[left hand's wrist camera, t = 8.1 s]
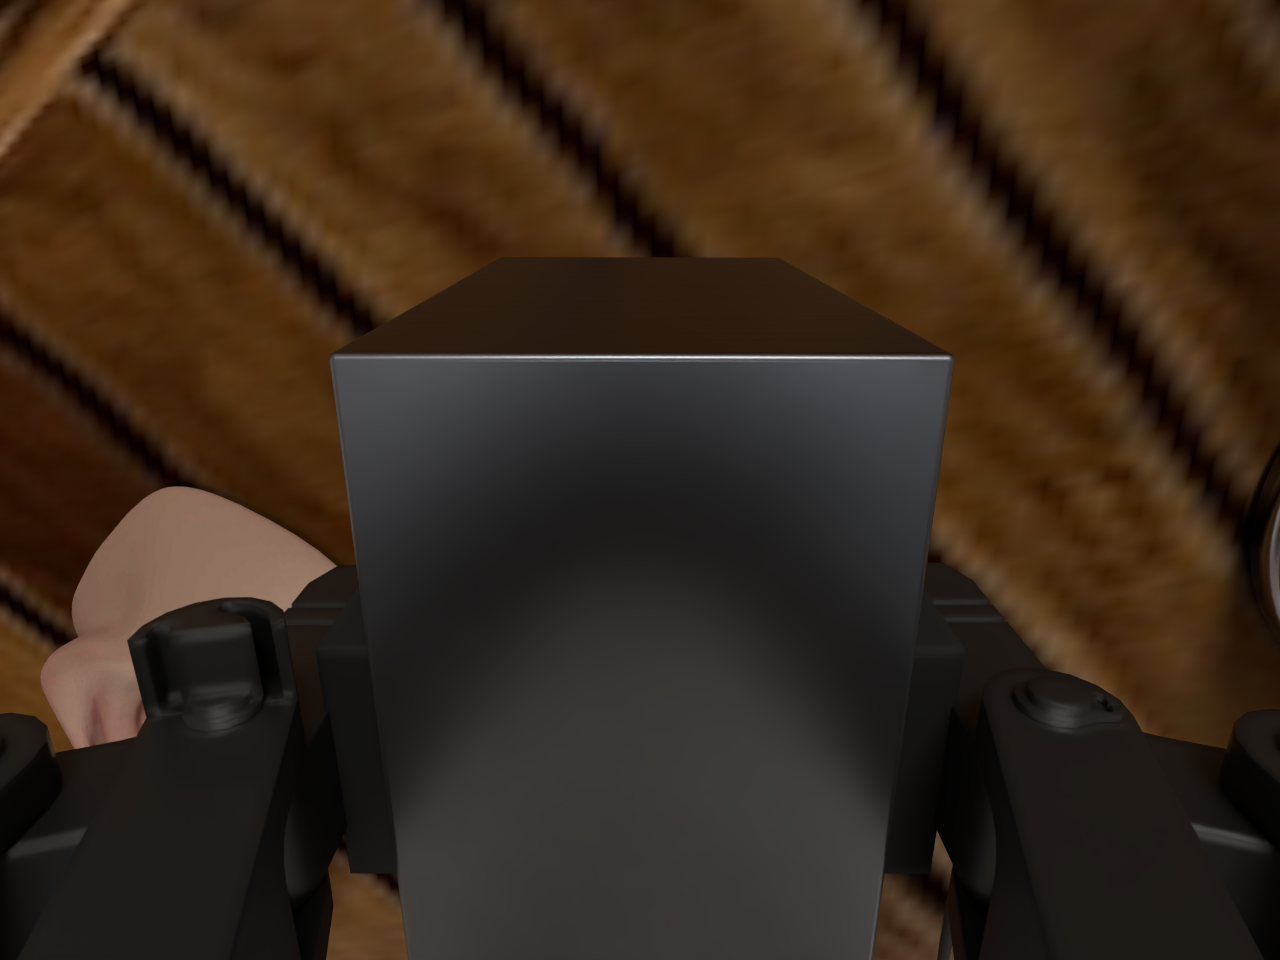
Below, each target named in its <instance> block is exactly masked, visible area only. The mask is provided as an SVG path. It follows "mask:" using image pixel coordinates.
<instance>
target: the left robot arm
mask: <svg viewBox="0 0 1280 960" xmlns="http://www.w3.org/2000/svg"><path fill="white" fill-rule="evenodd" d="M1250 570H1251V579H1252V585H1253V589H1254V593H1255V597H1256V601H1257V603H1258V606H1259V608H1260V611H1261V614H1262V616H1263V618H1264V620H1265V621H1266V623H1267V625H1268V627H1269V629H1270V630H1271V632H1272V633H1273V635H1274V636H1275V637H1276V639H1277V640H1278V641H1279V643H1280V451H1279V453H1278V455H1277V457H1276V459H1275V460H1274V462H1273V464H1272V467H1271V469H1270V471H1269V473H1268V476H1267V478H1266V480H1265V483H1264V485H1263V488H1262V491H1261V494H1260V497H1259V500H1258V503H1257V507H1256V511H1255V516H1254V520H1253V524H1252V532H1251V541H1250ZM127 643H128V647H129V651H130V655H131V659H132V663H133V667H134V671H135V675H136V679H137V683H138V687H139V691H140V695H141V699H142V703H143V707H144V711H145V715H146V719H145V721H144V723H143V725H142V727H141V728H140V730H139V732H138V734H137V736H136V737H132V738H128V739H124V740H120V741H114V742H109V743H104V744H99V745H94V746H88V747H83V748H78V749H73V750H68V751H63V752H57V753H55V751H54V748H53V745H52V741H51V738H50V735H49V731H48V728H47V726H46V725H45V724H44V723H42V722H41V721H40V720H39V719H37V718H36V717H35V716H29V715H23V714H16V713H5V714H0V960H326V955H327V948H328V941H329V933H330V926H331V919H332V912H333V899H332V891H331V885H330V879H329V873H328V867H329V865H330V863H331V861H332V858H333V856H334V854H335V852H336V849H337V847H338V845H339V843H340V841H341V838H342V836H343V834H344V835H345V841H346V847H347V854H348V860H349V866H350V873H397V870H396V862H395V855H394V847H393V839H392V832H391V824H390V817H389V809H388V801H387V794H386V786H385V778H384V771H383V763H382V756H381V748H380V740H379V733H378V725H377V718H376V710H375V702H374V695H373V687H372V679H371V672H370V664H369V657H368V649H367V641H366V634H365V626H364V619H363V611H362V603H361V596H360V588H359V580H358V573H357V565H338V566H336V567H335V568H333V569H331V570H330V571H328V572H326V573H325V574H323V575H321V576H319V577H318V578H316V579H314V580H313V581H311V582H309V583H308V584H307V585H306V587H305V588H304V589H303V590H302V592H301V593H300V594H299V595H298V596H297V598H296V599H295V600H294V601H293V602H292V607H291V608H288V609H287V610H286V611H285V612H284V610H282V609H281V608H280V607H278V606H277V605H276V604H274V603H273V602H272V601H267V600H262V599H258V598H253V597H225V598H219V599H213V600H208V601H202V602H197V603H193V604H190V605H187V606H184V607H181V608H178V609H175V610H172V611H169V612H166V613H164V614H163V615H161V616H159V617H157V618H155V619H153V620H152V621H150V622H148V623H146V624H144V625H142V626H141V627H140V628H139V629H138V630H137V631H136V632H135V633H134V634H133V635H132V636H131V637H130V638H129V639H128V640H127ZM937 831H938V833H939V835H940V837H941V840H942V842H943V844H944V846H945V848H946V851H947V853H948V855H949V857H950V859H951V862H952V864H953V867H952V873H951V879H950V885H949V890H948V896H947V902H946V908H945V914H944V920H943V925H942V931H941V937H940V943H939V951H938V959H937V960H949V959H950V953H951V948H952V946H953V953H954V960H1280V710H1275V709H1267V710H1260V711H1253V712H1247V713H1246V714H1245V715H1243V716H1242V717H1241V718H1240V719H1238V720H1237V721H1236V722H1235V724H1234V727H1233V730H1232V734H1231V737H1230V740H1229V744H1228V747H1227V749H1222V748H1217V747H1212V746H1207V745H1202V744H1196V743H1191V742H1186V741H1181V740H1176V739H1170V738H1165V737H1160V736H1156V735H1152V734H1148V733H1144V732H1142V731H1141V729H1140V727H1139V725H1138V723H1137V721H1136V720H1135V718H1134V716H1133V715H1132V714H1131V713H1130V711H1129V710H1128V709H1127V708H1126V707H1125V706H1124V705H1123V703H1122V702H1121V701H1120V700H1119V699H1117V698H1116V697H1114V696H1113V695H1111V694H1110V693H1108V692H1106V691H1105V690H1103V689H1102V688H1100V687H1099V686H1097V685H1095V684H1092V683H1090V682H1087V681H1085V680H1082V679H1080V678H1077V677H1075V676H1072V675H1070V674H1065V673H1060V672H1056V671H1051V670H1046V668H1045V667H1044V666H1043V665H1042V663H1041V662H1040V661H1039V660H1038V659H1037V657H1036V656H1035V655H1034V654H1033V653H1032V651H1031V650H1030V649H1029V648H1028V647H1027V645H1026V644H1025V643H1024V642H1023V641H1022V639H1021V638H1020V637H1019V636H1018V635H1017V633H1016V632H1015V631H1014V630H1013V629H1012V627H1011V626H1010V625H1009V624H1008V622H1004V618H1003V616H1002V615H1001V614H1000V613H999V612H998V610H997V609H996V608H995V607H994V606H993V605H990V604H989V600H988V598H987V597H986V596H985V595H984V594H983V592H982V591H981V590H980V589H979V588H978V586H977V585H976V584H975V583H974V582H973V580H971V579H970V578H968V577H966V576H964V575H963V574H961V573H959V572H958V571H956V570H954V569H953V568H951V567H949V566H947V565H946V564H944V563H927V565H926V573H925V580H924V587H923V595H922V602H921V609H920V616H919V624H918V631H917V638H916V646H915V653H914V660H913V668H912V675H911V682H910V689H909V697H908V704H907V711H906V719H905V726H904V733H903V741H902V748H901V755H900V762H899V770H898V777H897V784H896V792H895V799H894V806H893V814H892V821H891V828H890V835H889V843H888V850H887V857H886V865H885V872H884V873H930V870H931V863H932V857H933V851H934V844H935V838H936V832H937Z"/></svg>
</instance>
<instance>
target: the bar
mask: <svg viewBox="0 0 1280 960" xmlns="http://www.w3.org/2000/svg"><path fill="white" fill-rule="evenodd" d="M330 367H331V375H332V382H333V390H334V398H335V405H336V413H337V420H338V428H339V436H340V443H341V451H342V459H343V466H344V474H345V481H346V489H347V497H348V504H349V512H350V520H351V527H352V535H353V542H354V550H355V558H356V565H357V573H358V580H359V588H360V596H361V603H362V611H363V619H364V626H365V634H366V641H367V649H368V657H369V664H370V672H371V679H372V687H373V695H374V702H375V710H376V718H377V725H378V733H379V740H380V748H381V756H382V763H383V771H384V778H385V786H386V794H387V801H388V809H389V817H390V824H391V832H392V839H393V847H394V855H395V862H396V870H397V878H398V885H399V893H400V900H401V908H402V916H403V923H404V931H405V938H406V946H407V954H408V960H873V952H874V945H875V938H876V930H877V923H878V916H879V909H880V901H881V894H882V887H883V879H884V872H885V865H886V857H887V850H888V843H889V835H890V828H891V821H892V814H893V806H894V799H895V792H896V784H897V777H898V770H899V762H900V755H901V748H902V741H903V733H904V726H905V719H906V711H907V704H908V697H909V689H910V682H911V675H912V668H913V660H914V653H915V646H916V638H917V631H918V624H919V616H920V609H921V602H922V595H923V587H924V580H925V573H926V565H927V558H928V551H929V543H930V536H931V529H932V521H933V514H934V507H935V500H936V492H937V485H938V478H939V470H940V463H941V456H942V448H943V441H944V434H945V427H946V419H947V412H948V405H949V397H950V390H951V383H952V375H953V368H954V357H953V355H952V354H950V353H949V352H947V351H945V350H943V349H941V348H940V347H938V346H936V345H934V344H932V343H931V342H929V341H927V340H925V339H923V338H922V337H920V336H918V335H916V334H914V333H913V332H911V331H909V330H907V329H905V328H904V327H902V326H900V325H898V324H896V323H895V322H893V321H891V320H889V319H888V318H886V317H884V316H882V315H880V314H879V313H877V312H875V311H873V310H871V309H870V308H868V307H866V306H864V305H862V304H861V303H859V302H857V301H855V300H853V299H852V298H850V297H848V296H846V295H844V294H843V293H841V292H839V291H837V290H835V289H834V288H832V287H830V286H828V285H826V284H825V283H823V282H821V281H819V280H817V279H816V278H814V277H812V276H810V275H808V274H807V273H805V272H803V271H801V270H799V269H798V268H796V267H794V266H792V265H790V264H789V263H787V262H785V261H783V260H781V259H779V258H575V257H502V258H500V259H498V260H496V261H495V262H493V263H491V264H489V265H487V266H486V267H484V268H482V269H480V270H479V271H477V272H475V273H473V274H472V275H470V276H468V277H466V278H464V279H463V280H461V281H459V282H457V283H456V284H454V285H452V286H450V287H449V288H447V289H445V290H443V291H441V292H440V293H438V294H436V295H434V296H433V297H431V298H429V299H427V300H426V301H424V302H422V303H420V304H419V305H417V306H415V307H413V308H411V309H410V310H408V311H406V312H404V313H403V314H401V315H399V316H397V317H396V318H394V319H392V320H390V321H388V322H387V323H385V324H383V325H381V326H380V327H378V328H376V329H374V330H373V331H371V332H369V333H367V334H365V335H364V336H362V337H360V338H358V339H357V340H355V341H353V342H351V343H350V344H348V345H346V346H344V347H343V348H341V349H339V350H337V351H335V352H334V353H332V354H331V356H330Z"/></svg>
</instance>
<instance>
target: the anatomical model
mask: <svg viewBox="0 0 1280 960" xmlns="http://www.w3.org/2000/svg"><path fill="white" fill-rule="evenodd" d="M335 567H336V565H335V564H334V563H333V562H332V561H330V560H329V559H328V558H327V557H326V556H324V555H323V554H322V553H321V552H320V551H318V550H317V549H315V548H314V547H312V546H311V545H309V544H308V543H307V542H305V541H304V540H302V539H301V538H299V537H298V536H296V535H295V534H293V533H291V532H289V531H288V530H286V529H284V528H283V527H281V526H279V525H277V524H276V523H274V522H272V521H270V520H269V519H267V518H265V517H263V516H261V515H259V514H257V513H255V512H253V511H251V510H249V509H247V508H245V507H243V506H241V505H239V504H237V503H234V502H232V501H230V500H227V499H225V498H223V497H220V496H218V495H215V494H213V493H210V492H207V491H203V490H200V489H195V488H190V487H178V486H175V487H167V488H163V489H160V490H158V491H156V492H154V493H152V494H150V495H149V496H147V497H146V498H144V499H143V500H142V501H141V502H140V503H138V504H137V505H136V506H135V507H134V508H133V509H132V510H131V511H130V512H129V513H128V514H127V515H126V516H125V517H124V518H123V520H122V521H121V522H120V523H119V524H118V526H117V527H116V528H115V529H114V530H113V531H112V533H111V534H110V535H109V536H108V537H107V539H106V540H105V541H104V542H103V544H102V545H101V546H100V548H99V549H98V550H97V552H96V553H95V555H94V556H93V558H92V560H91V561H90V563H89V565H88V567H87V569H86V571H85V573H84V575H83V577H82V579H81V581H80V583H79V585H78V587H77V590H76V592H75V594H74V598H73V602H72V617H73V623H74V627H75V629H76V632H77V635H78V638H76V639H74V640H73V641H71V642H69V643H67V644H66V645H64V646H62V647H60V648H59V649H58V650H56V651H55V652H54V653H53V654H52V655H51V656H50V657H49V658H48V659H47V661H46V663H45V664H44V666H43V668H42V671H41V685H42V688H43V691H44V693H45V695H46V698H47V700H48V702H49V704H50V706H51V707H52V709H53V711H54V713H55V715H56V716H57V718H58V720H59V722H60V724H61V725H62V727H63V729H64V731H65V733H66V734H67V736H68V738H69V740H70V742H71V743H72V745H73V747H74V749H78V748H83V747H88V746H94V745H99V744H104V743H109V742H114V741H120V740H124V739H128V738H132V737H136V736H137V734H138V732H139V730H140V728H141V727H142V725H143V723H144V721H145V719H146V715H145V711H144V707H143V703H142V699H141V695H140V691H139V687H138V683H137V679H136V675H135V671H134V667H133V663H132V659H131V655H130V651H129V647H128V643H127V640H128V639H129V638H130V637H131V636H132V635H133V634H134V633H135V632H136V631H137V630H138V629H139V628H140V627H141V626H142V625H144V624H146V623H148V622H150V621H152V620H153V619H155V618H157V617H159V616H161V615H163V614H164V613H166V612H169V611H172V610H175V609H178V608H181V607H184V606H187V605H190V604H193V603H197V602H202V601H208V600H213V599H219V598H225V597H253V598H258V599H262V600H267V601H272V602H273V603H274V604H276V605H277V606H278V607H280V608H281V609H282V610H284V612H285V611H286V610H287V609H288V608H291V607H292V602H293V601H294V600H295V599H296V598H297V596H298V595H299V594H300V593H301V592H302V590H303V589H304V588H305V587H306V585H307V584H308V583H309V582H311V581H313V580H314V579H316V578H318V577H319V576H321V575H323V574H325V573H326V572H328V571H330V570H331V569H333V568H335Z"/></svg>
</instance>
